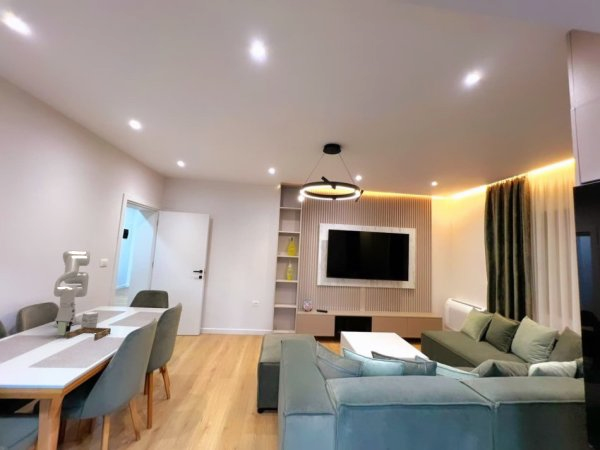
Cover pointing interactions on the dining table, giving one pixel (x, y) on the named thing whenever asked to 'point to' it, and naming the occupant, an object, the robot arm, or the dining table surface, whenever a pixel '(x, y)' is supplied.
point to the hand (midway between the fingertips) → (63, 330)
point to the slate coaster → (61, 336)
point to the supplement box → (89, 319)
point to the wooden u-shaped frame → (99, 332)
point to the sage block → (62, 328)
